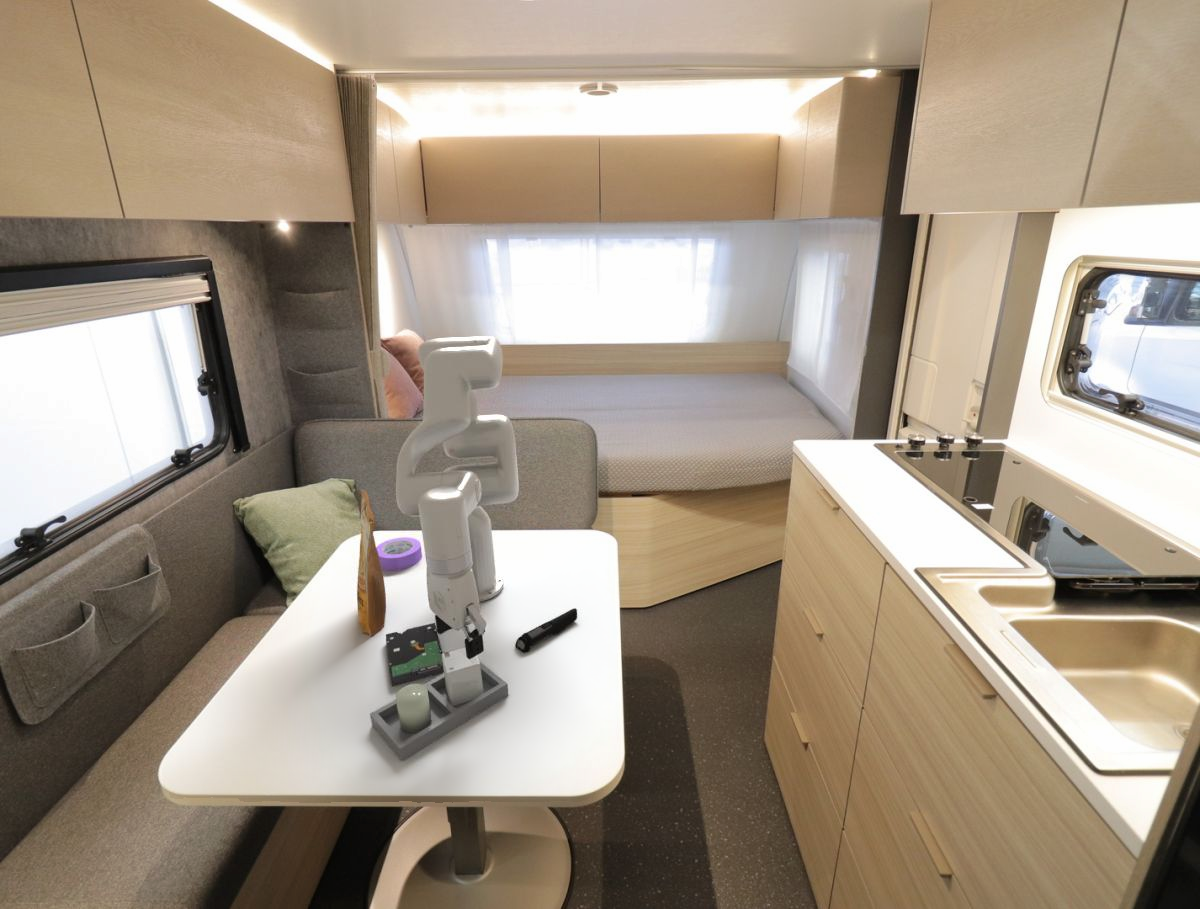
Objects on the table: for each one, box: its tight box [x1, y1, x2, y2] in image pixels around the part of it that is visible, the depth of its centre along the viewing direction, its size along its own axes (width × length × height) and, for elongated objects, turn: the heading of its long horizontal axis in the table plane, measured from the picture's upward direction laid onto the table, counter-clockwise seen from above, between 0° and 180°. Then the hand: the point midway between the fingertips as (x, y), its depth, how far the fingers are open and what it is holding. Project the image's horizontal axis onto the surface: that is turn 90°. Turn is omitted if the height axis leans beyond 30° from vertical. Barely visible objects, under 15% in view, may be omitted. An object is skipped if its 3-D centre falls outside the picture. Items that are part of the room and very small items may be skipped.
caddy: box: [369, 660, 509, 762], centre depth 108 cm, size 21×11×3 cm, turn 134°
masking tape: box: [376, 536, 423, 571], centre depth 161 cm, size 12×12×4 cm
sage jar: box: [395, 683, 432, 734], centre depth 104 cm, size 5×5×6 cm
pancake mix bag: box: [356, 488, 387, 638], centre depth 132 cm, size 7×19×28 cm, turn 18°
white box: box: [442, 647, 484, 706], centre depth 110 cm, size 6×6×7 cm
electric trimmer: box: [514, 608, 578, 654], centre depth 128 cm, size 4×16×3 cm, turn 134°
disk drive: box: [385, 622, 444, 687], centre depth 122 cm, size 10×3×15 cm
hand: (460, 642), depth 108 cm, fingers open, 9 cm apart
